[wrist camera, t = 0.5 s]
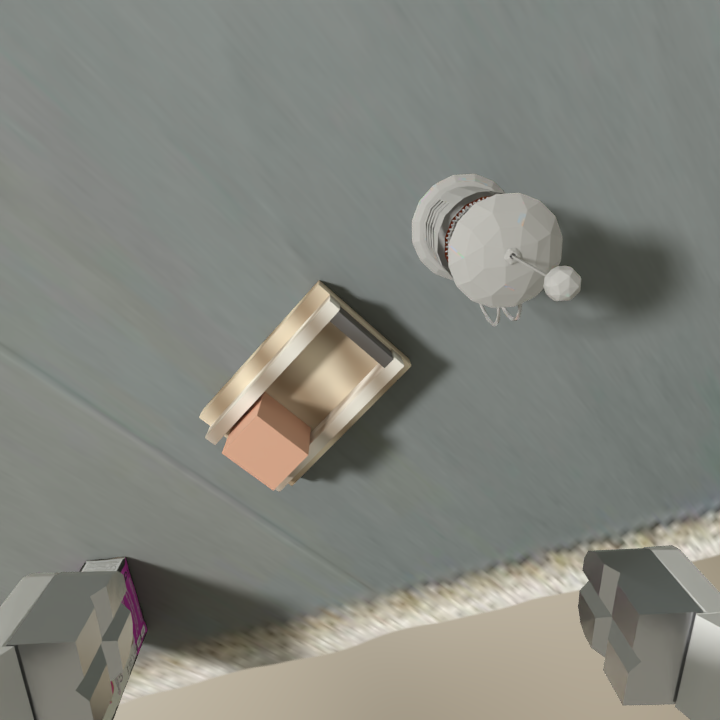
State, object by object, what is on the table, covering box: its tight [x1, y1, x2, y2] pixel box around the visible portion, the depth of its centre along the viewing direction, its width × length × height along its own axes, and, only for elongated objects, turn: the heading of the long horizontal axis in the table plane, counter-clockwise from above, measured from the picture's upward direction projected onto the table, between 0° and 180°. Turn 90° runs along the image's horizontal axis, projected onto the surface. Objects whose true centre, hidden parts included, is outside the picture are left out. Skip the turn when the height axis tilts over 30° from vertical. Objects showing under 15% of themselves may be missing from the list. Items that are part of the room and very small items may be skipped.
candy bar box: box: [79, 557, 147, 720], centre depth 57 cm, size 11×5×16 cm, turn 6°
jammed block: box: [222, 392, 311, 490], centre depth 53 cm, size 5×6×6 cm
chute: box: [199, 280, 412, 492], centre depth 55 cm, size 18×12×4 cm, turn 137°
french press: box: [412, 174, 581, 326], centre depth 41 cm, size 10×12×25 cm
